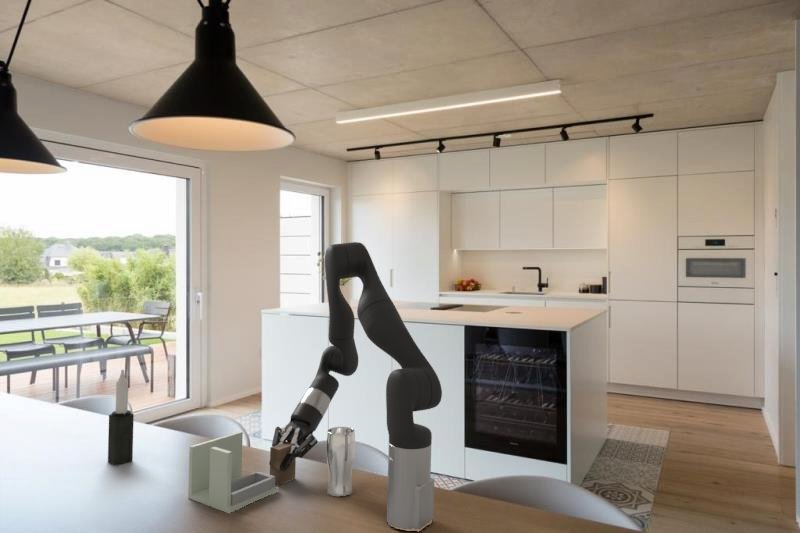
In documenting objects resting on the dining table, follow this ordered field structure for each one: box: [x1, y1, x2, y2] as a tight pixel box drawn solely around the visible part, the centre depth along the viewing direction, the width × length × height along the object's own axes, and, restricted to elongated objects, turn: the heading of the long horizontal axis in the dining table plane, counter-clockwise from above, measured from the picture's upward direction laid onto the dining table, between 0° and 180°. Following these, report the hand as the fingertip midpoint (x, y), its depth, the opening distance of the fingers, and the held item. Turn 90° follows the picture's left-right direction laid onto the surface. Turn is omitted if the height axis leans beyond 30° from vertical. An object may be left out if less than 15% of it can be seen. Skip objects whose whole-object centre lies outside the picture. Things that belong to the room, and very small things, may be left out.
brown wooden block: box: [269, 440, 297, 486], centre depth 144 cm, size 3×6×9 cm, turn 147°
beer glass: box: [325, 426, 356, 496], centre depth 138 cm, size 7×7×15 cm
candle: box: [107, 369, 135, 466], centre depth 155 cm, size 5×5×25 cm
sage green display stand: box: [187, 431, 280, 514], centre depth 135 cm, size 14×15×13 cm
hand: (277, 467), depth 142 cm, fingers closed on brown wooden block, 3 cm apart
